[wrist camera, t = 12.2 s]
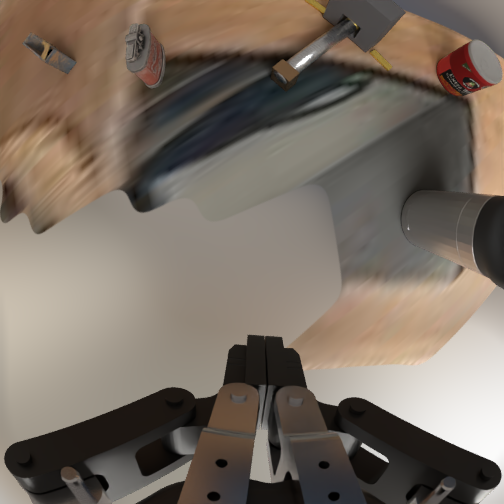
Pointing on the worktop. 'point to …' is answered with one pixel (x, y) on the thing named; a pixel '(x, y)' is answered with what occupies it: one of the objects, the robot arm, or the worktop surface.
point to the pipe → (316, 52)
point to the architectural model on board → (54, 58)
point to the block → (365, 18)
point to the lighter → (145, 55)
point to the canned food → (469, 69)
